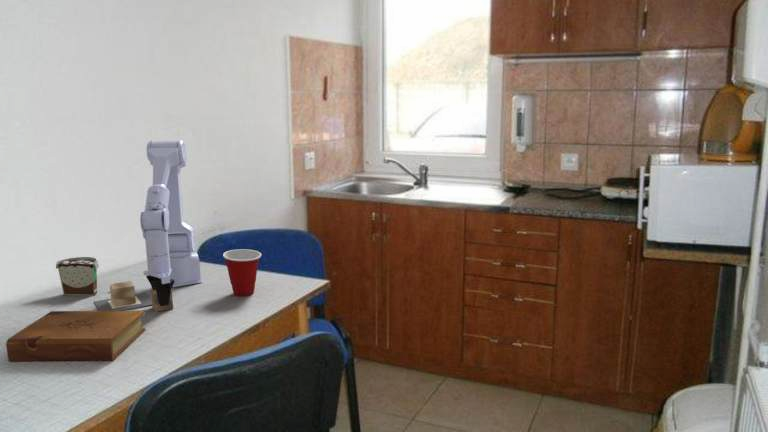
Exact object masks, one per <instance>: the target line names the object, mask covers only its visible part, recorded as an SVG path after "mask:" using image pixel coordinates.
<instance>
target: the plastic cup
mask: <svg viewBox="0 0 768 432" xmlns="http://www.w3.org/2000/svg"><path fill="white" fill-rule="evenodd" d="M222 257H223V258H224V261H225V265H226V269H227V271H228V272H227V273H228V277H229V281H230V284H231V289H232V293H233V295H234V296H238V297H246V296H250V295H253V294H254V293H255V289H256V282H257V273H258V266H259V262H260V259H261V257H262V253H261V252H259V251H258V250H254V249H249V248H248V249H247V248H246V249H245V248H242V249H241V248H239V249H231V250H227V251H225V252H223V255H222Z"/></svg>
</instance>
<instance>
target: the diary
mask: <svg viewBox="0 0 768 432" xmlns="http://www.w3.org/2000/svg"><path fill="white" fill-rule="evenodd" d="M144 315H145V310H143V309H142V310H124V311H99V310H51V311H49V312H48V313H46V314H45V315H43V316H42V317H39V318H38V319H37V320H35V321H34V322H32V323H31V324H29V325H27V326H25V328H23V329H21V330H20V331H17V333H15V334H13V335H12V336H10V337H8V338H7V340H6V343H5V347H6V354H7V360H8V362H9V363H20V362H21V363H27V362H29V363H31V362H32V363H33V362H34V363H35V362H37V363H40V362H41V363H42V362H43V363H44V362H47V363H48V362H49V363H51V362H56V363H57V362H65V363H67V362H114V361H115V360H116V359H117V358H118V357H120V355H122V354H123V353H124V352H125V351H126V350H127V349H128V348H129V347H130V346H131V345H132V344H133V343H134V342H135V341H136V340H137V339H138V338H139V337H140V336H141V335H142V334H143V333H144V332H145V331H146V328H145V327H144V328H142V318H141V317H143V316H144Z"/></svg>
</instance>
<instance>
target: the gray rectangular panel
mask: <svg viewBox="0 0 768 432" xmlns="http://www.w3.org/2000/svg"><path fill="white" fill-rule="evenodd" d="M135 298H136V303H135V304H129V305H123V306H118V307H114V305H113V303H112V302H111V298H105V299H99V300H94V304H95V306H96V308H97V311H131V310H135V309H140V308H145V307H151V306H152V298H151V295H149V294H148V293H147V292H141V293H137V294H136V293H135Z"/></svg>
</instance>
